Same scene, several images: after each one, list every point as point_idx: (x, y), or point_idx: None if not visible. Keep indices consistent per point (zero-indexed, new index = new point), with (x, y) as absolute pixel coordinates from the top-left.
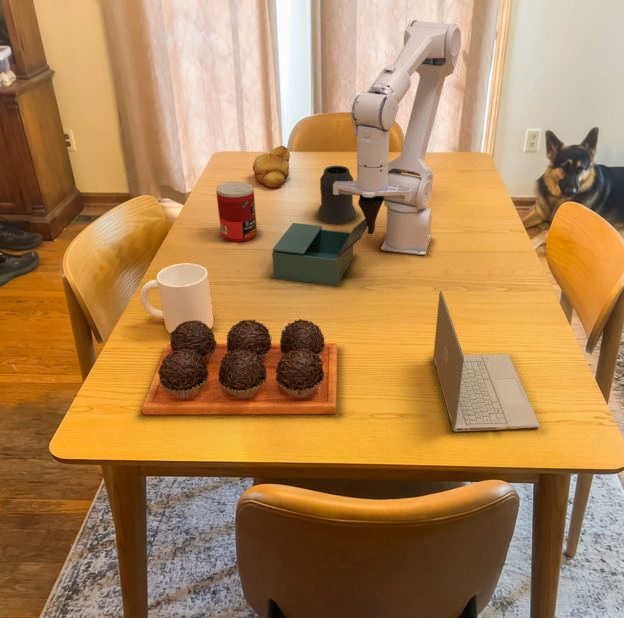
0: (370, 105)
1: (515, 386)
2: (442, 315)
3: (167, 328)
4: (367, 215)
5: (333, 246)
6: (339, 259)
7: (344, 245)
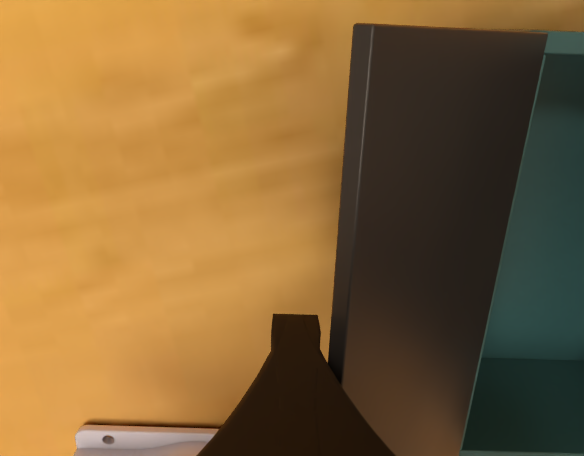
0: None
1: None
2: None
3: None
4: (335, 444)
5: (528, 384)
6: None
7: (499, 220)
